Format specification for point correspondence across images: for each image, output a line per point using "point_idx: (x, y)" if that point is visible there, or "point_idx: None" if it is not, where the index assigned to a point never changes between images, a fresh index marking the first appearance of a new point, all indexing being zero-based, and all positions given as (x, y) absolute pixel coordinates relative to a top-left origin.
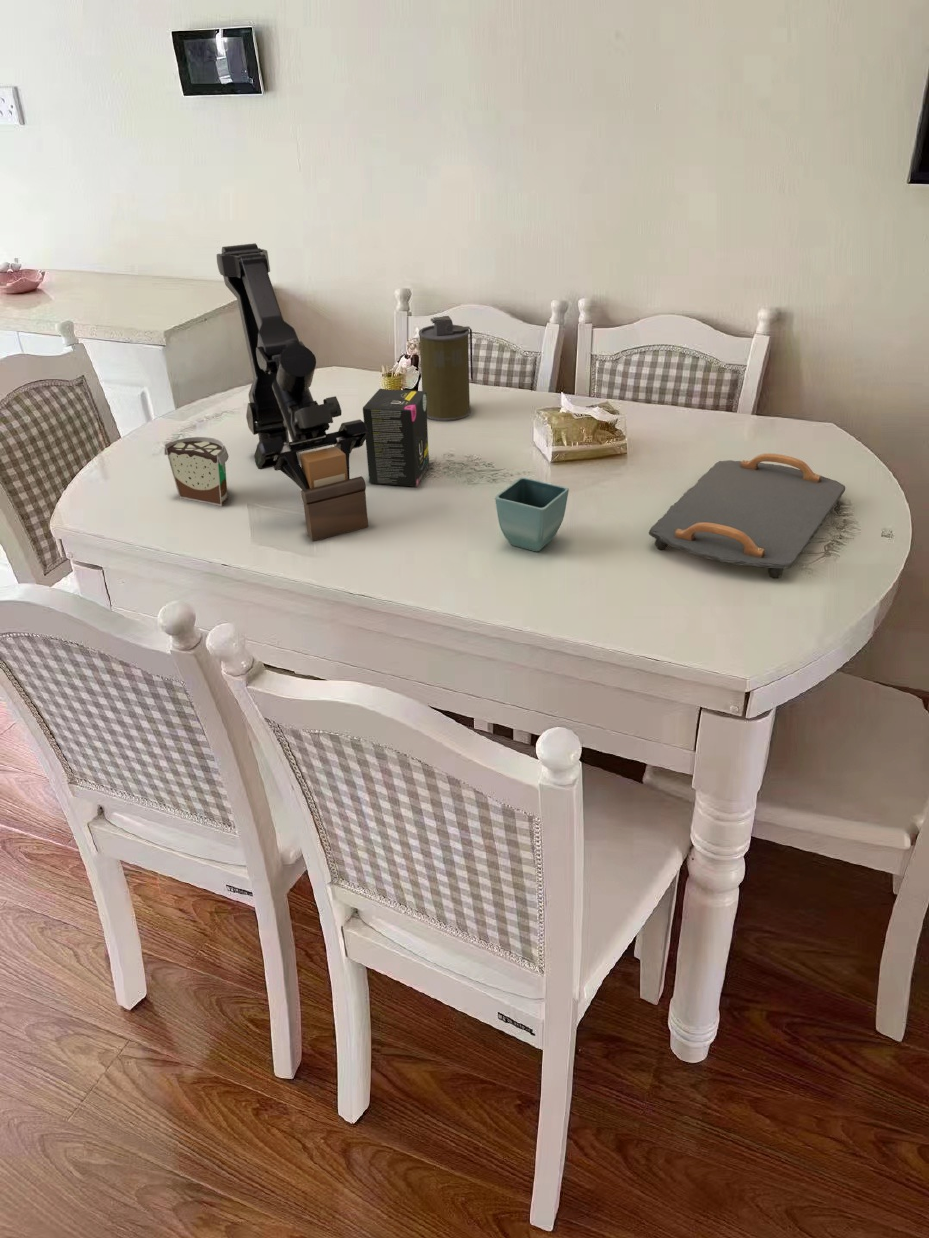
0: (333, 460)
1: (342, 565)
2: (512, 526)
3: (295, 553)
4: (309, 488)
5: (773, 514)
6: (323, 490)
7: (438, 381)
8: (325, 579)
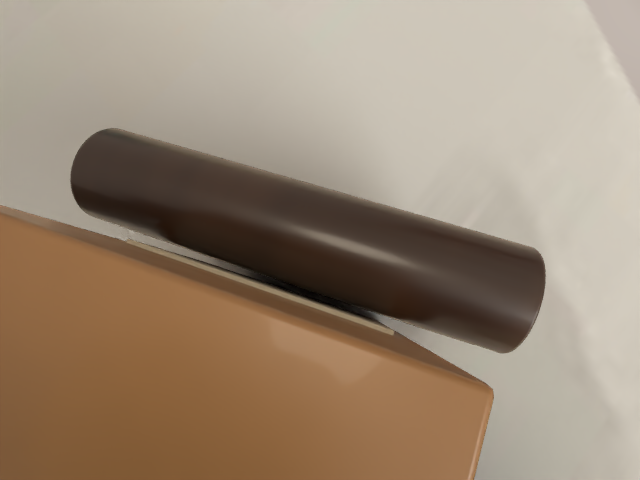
0: (99, 244)
1: (472, 71)
2: None
3: (543, 251)
4: None
5: None
6: (391, 211)
7: None
8: (570, 40)
